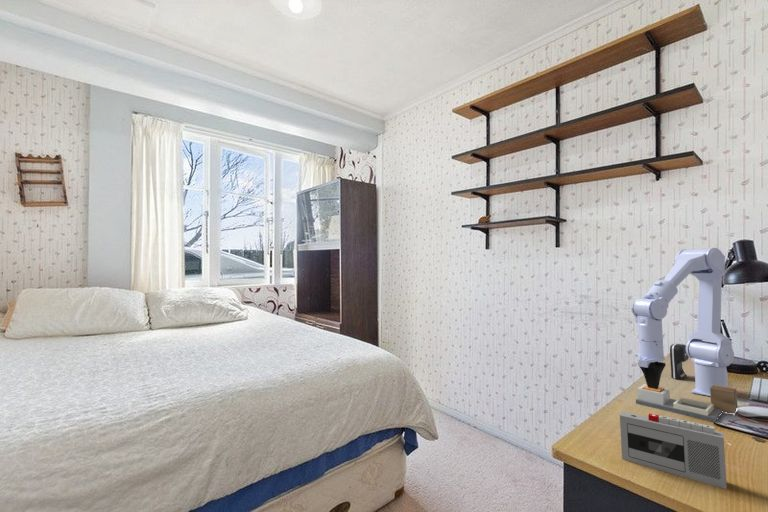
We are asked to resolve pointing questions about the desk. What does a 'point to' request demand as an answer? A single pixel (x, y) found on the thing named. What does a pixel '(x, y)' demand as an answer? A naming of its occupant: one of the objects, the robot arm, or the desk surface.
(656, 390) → the button
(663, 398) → the grey tray with holders
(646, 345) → the robot arm
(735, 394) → the block
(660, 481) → the desk surface
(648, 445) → the cassette player
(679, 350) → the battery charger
